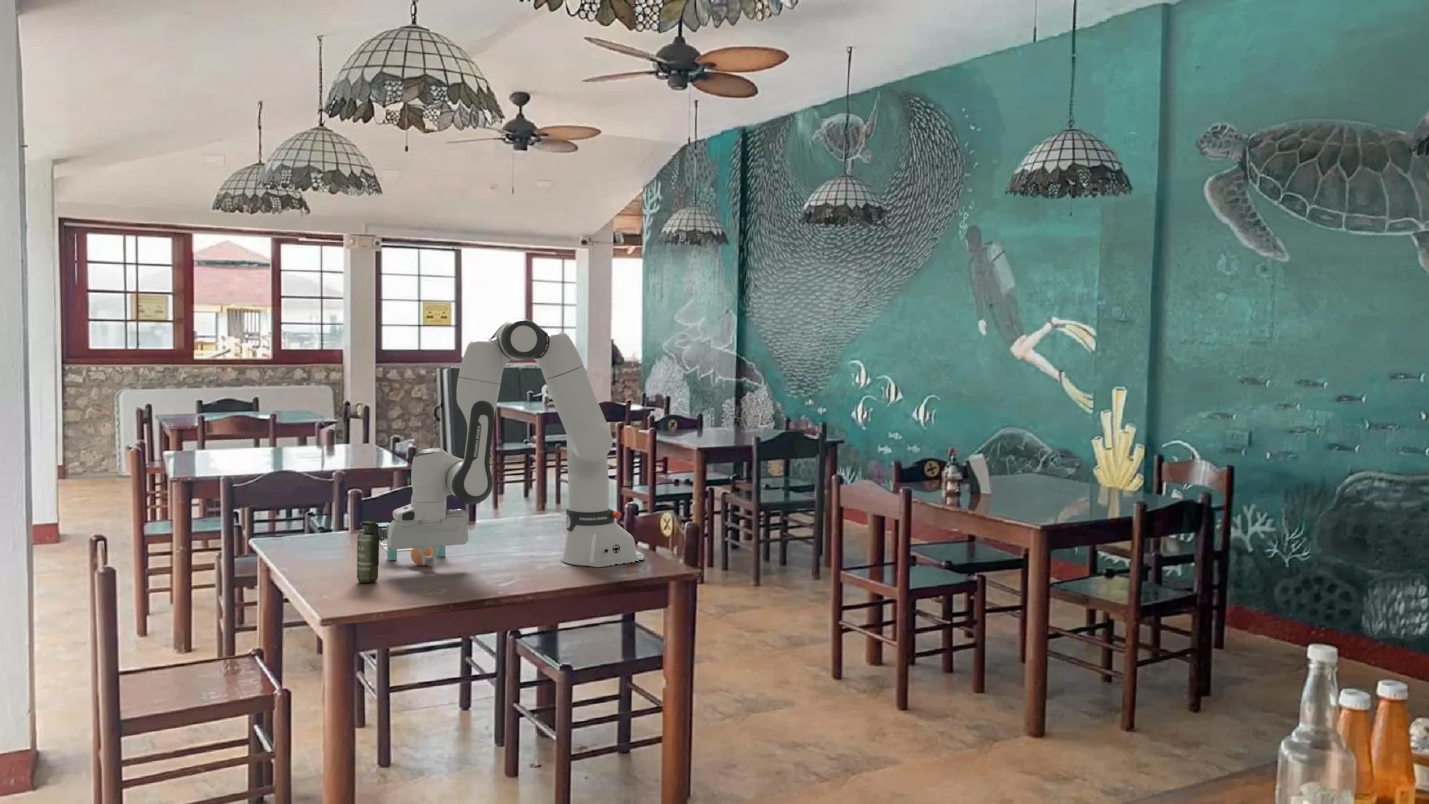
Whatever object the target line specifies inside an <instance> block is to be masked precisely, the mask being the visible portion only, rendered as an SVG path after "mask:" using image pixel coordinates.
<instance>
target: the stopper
mask: <svg viewBox="0 0 1429 804" xmlns="http://www.w3.org/2000/svg"><path fill="white" fill-rule="evenodd" d="M380 528H381V527H380ZM381 529H382V530H383V532H384V537H387V527H382V528H381ZM358 531H359V532H358V534H359V533H361V532H364V528H363V529H358ZM378 533H379V535H380V539H383V538H382V537H383V534H382V532H381V530H380V529H379V531H378Z"/></svg>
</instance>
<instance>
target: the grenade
mask: <svg viewBox="0 0 1429 804" xmlns="http://www.w3.org/2000/svg"><path fill="white" fill-rule="evenodd" d="M359 525H360V526H363V529H364V532H361V533H359V532H358V534H357V537H356V538H357V539H356V540H357V542H356V547H357V548H356V549H357V550H356V551H357V552H356V579H357V581H358V582H359V583H364V584H370V583H371V584H372V583H375V582H377V581H378V578H379V566H380V559H379V558H380V544H379V543H380V542H382V541H385V538H384V532H383V530H382V529H381V527H380V526H379V523H377V522H375V521H369V520H367V521H366V520H365V521H362V522H359ZM379 529H380V530H381V532H382V534H383V538H380V535H379V533H378V531H379Z"/></svg>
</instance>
